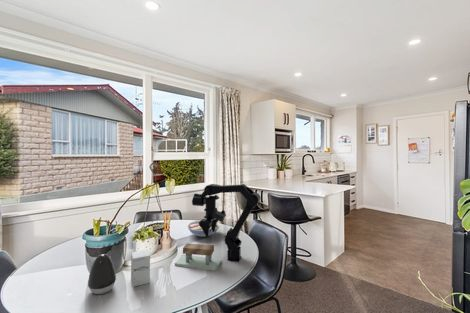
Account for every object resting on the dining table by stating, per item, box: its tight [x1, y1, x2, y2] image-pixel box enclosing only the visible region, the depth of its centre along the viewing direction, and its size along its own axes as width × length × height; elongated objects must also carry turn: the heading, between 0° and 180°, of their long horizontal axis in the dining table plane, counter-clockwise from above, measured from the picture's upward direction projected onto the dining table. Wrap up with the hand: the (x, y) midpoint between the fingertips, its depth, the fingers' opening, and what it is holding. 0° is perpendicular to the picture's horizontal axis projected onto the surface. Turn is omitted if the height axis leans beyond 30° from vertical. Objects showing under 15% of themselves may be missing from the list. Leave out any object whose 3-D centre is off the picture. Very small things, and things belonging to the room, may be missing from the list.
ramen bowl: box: [186, 219, 221, 238], centre depth 163 cm, size 25×23×8 cm
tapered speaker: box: [87, 253, 117, 295], centre depth 98 cm, size 10×10×15 cm
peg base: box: [174, 254, 222, 272], centre depth 122 cm, size 22×10×6 cm, turn 77°
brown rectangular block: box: [182, 242, 215, 257], centre depth 122 cm, size 15×6×3 cm, turn 82°
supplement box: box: [130, 249, 151, 288], centre depth 105 cm, size 7×7×13 cm
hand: (210, 234), depth 132 cm, fingers open, 9 cm apart
